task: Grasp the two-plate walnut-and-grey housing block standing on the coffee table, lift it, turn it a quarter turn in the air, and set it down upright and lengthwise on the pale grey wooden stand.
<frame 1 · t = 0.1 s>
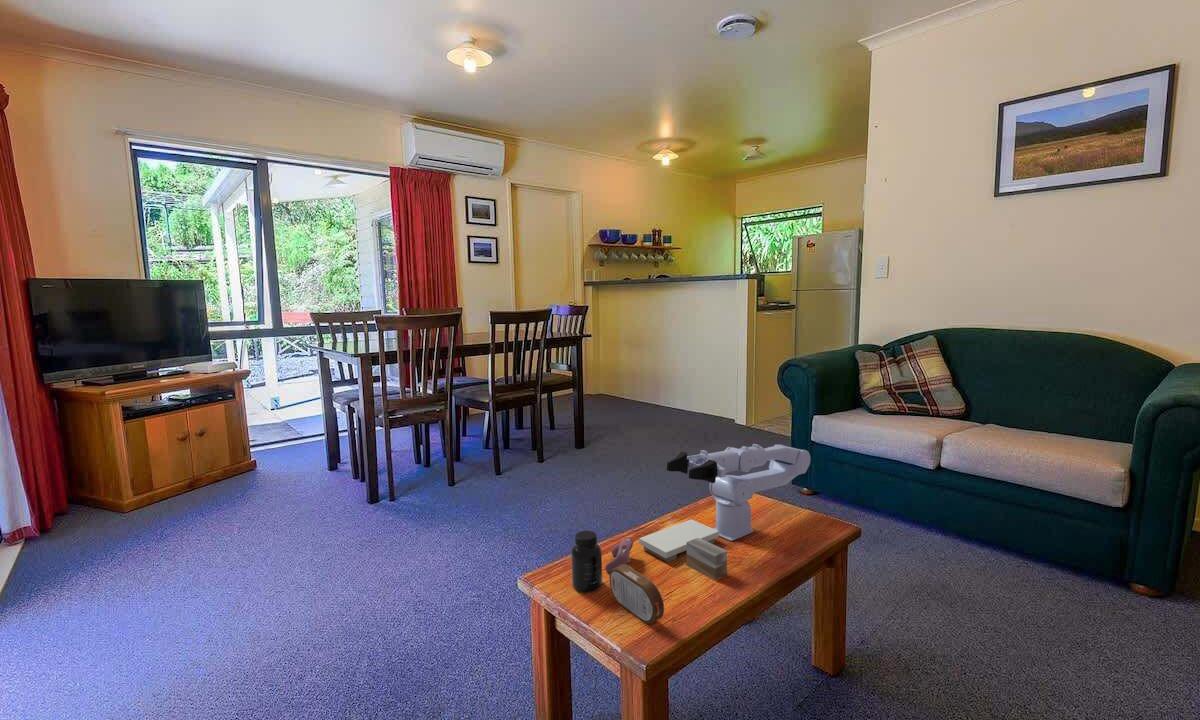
hand: (678, 470, 130), 22 cm above the table, tool horizontal, fingers open, 7 cm apart
tin: (635, 613, 107), on the table
housing: (706, 570, 124), on the table
stand: (679, 545, 136), on the table
video game controller: (620, 565, 127), on the table
supplement bottle: (587, 586, 118), on the table
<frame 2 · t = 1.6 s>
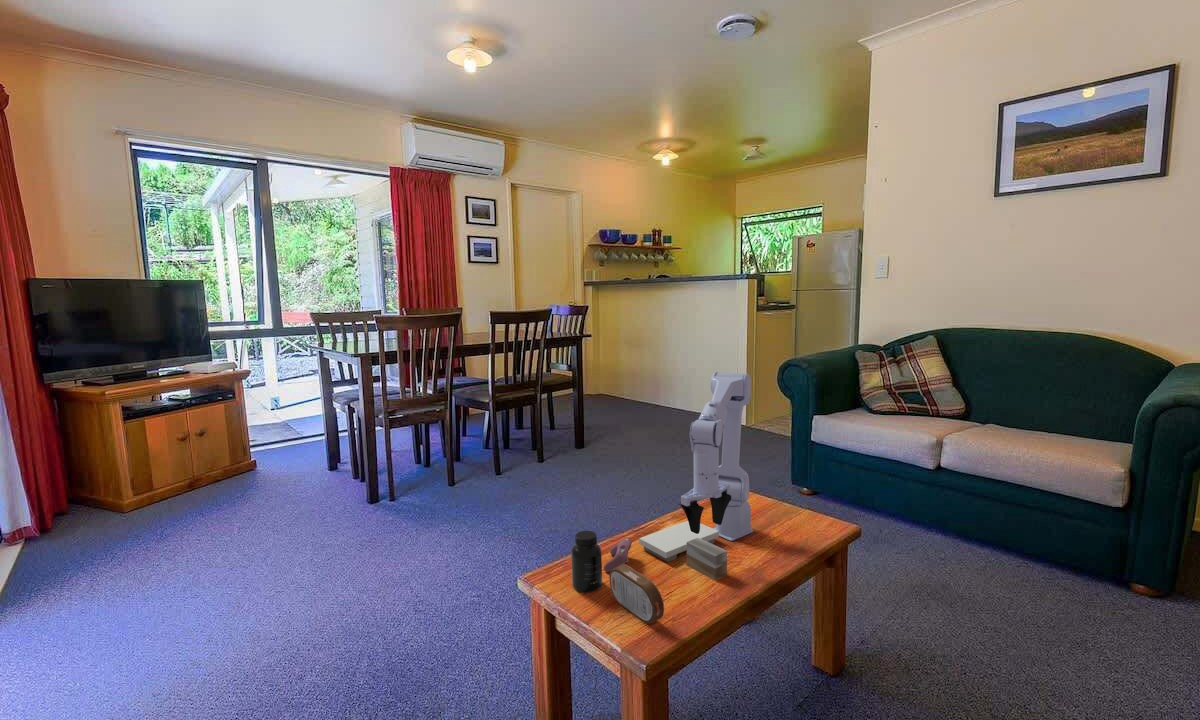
hand: (706, 527, 122), 10 cm above the table, tool pointing down, fingers open, 7 cm apart
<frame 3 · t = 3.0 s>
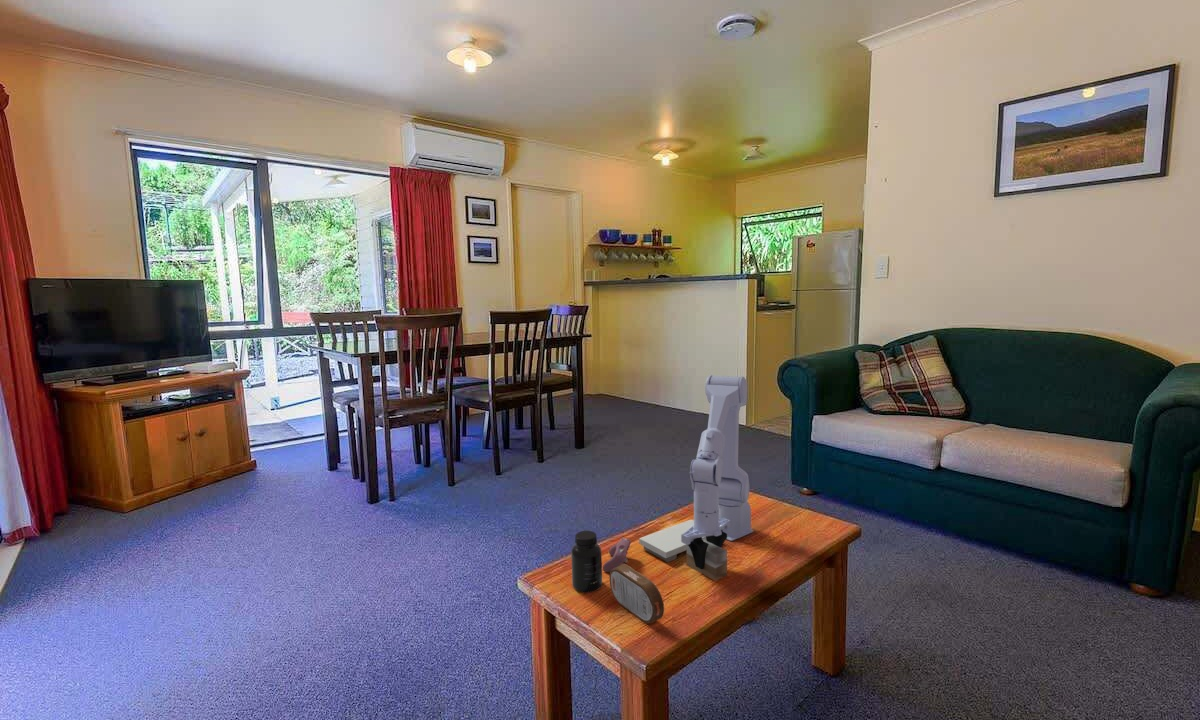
hand: (706, 564, 123), 1 cm above the table, tool pointing down, fingers closed on housing, 4 cm apart
housing: (706, 570, 124), on the table, touching gripper
everything else where it was.
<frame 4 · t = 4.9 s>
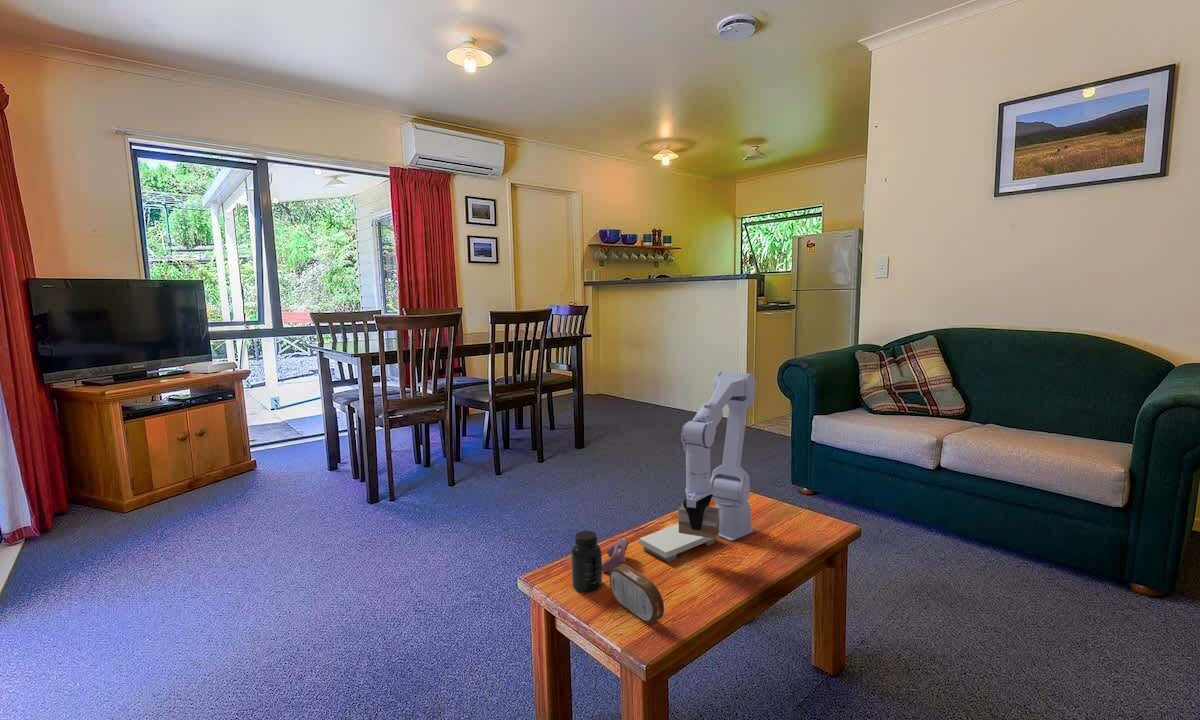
hand: (698, 525, 126), 9 cm above the table, tool pointing down, fingers closed on housing, 4 cm apart
housing: (699, 532, 126), point 8 cm above the table, touching gripper
when the fingers open (5 cm above the table, at t = 6.8 s): housing stays where it is, resting on stand.
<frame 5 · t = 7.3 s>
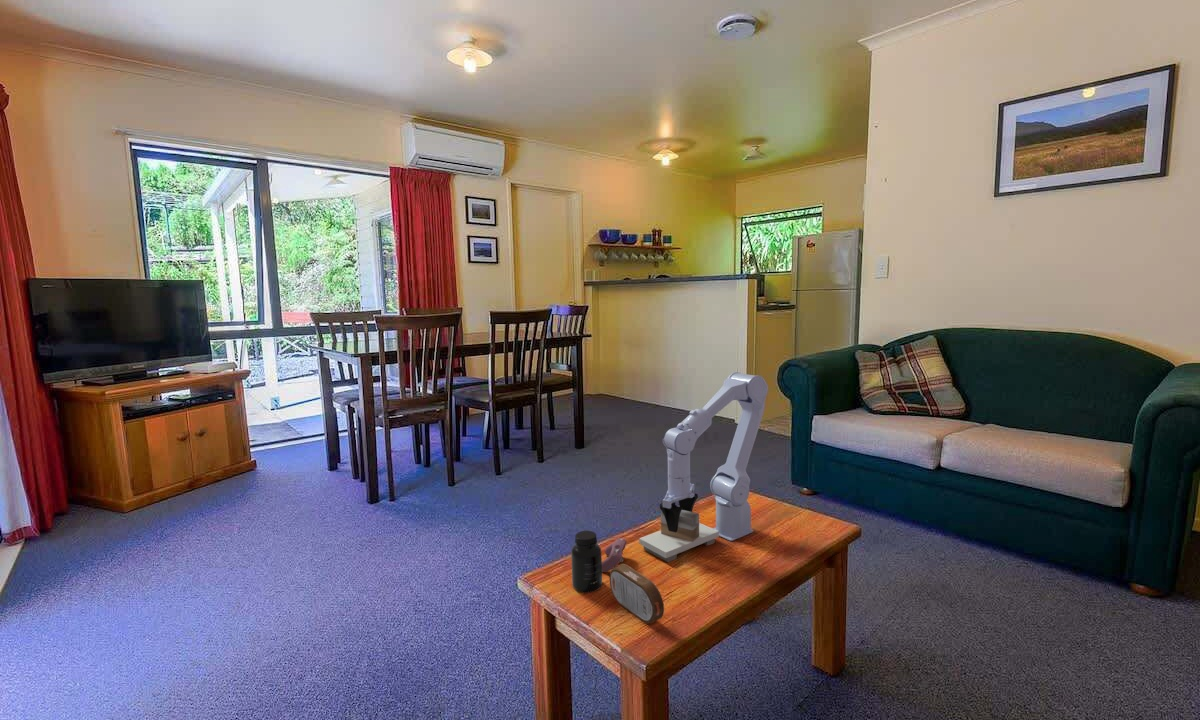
hand: (679, 525, 136), 5 cm above the table, tool pointing down, fingers open, 7 cm apart
housing: (680, 534, 136), point 3 cm above the table, touching stand
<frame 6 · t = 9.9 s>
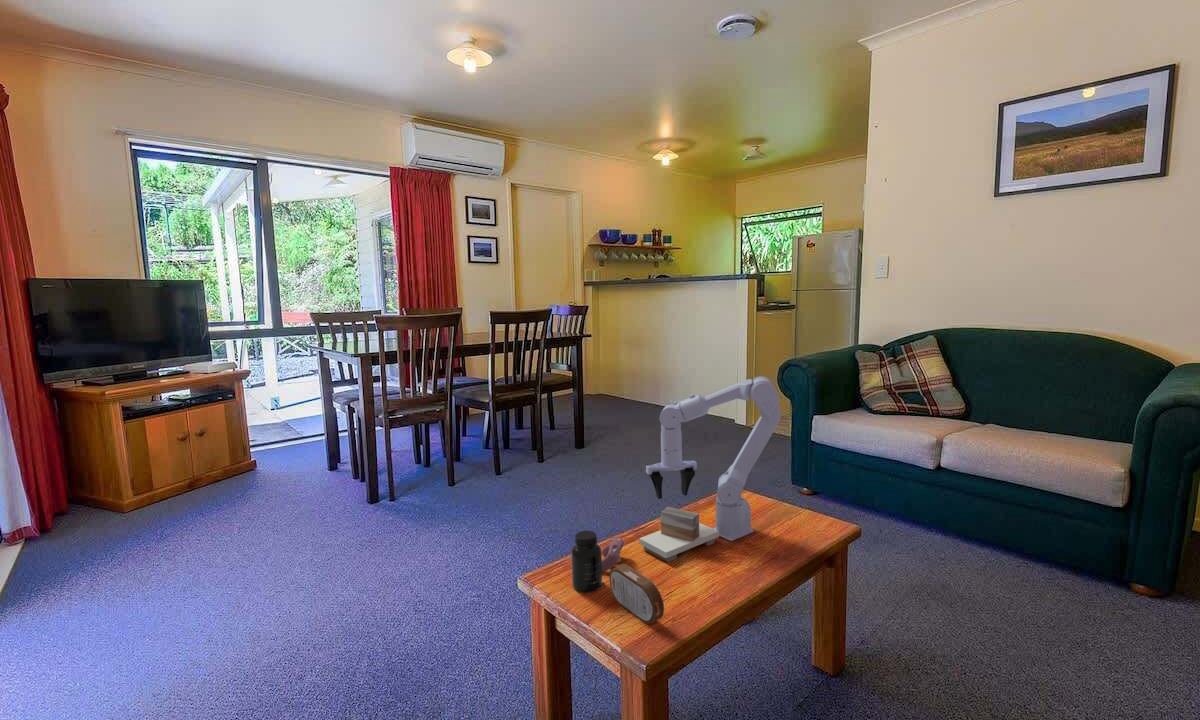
hand: (671, 496, 146), 9 cm above the table, tool pointing down, fingers open, 7 cm apart
at the end: housing 0.1 cm off-centre on the stand, point 3.0 cm above the stand's base; housing tilted 0°; housing touching stand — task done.
